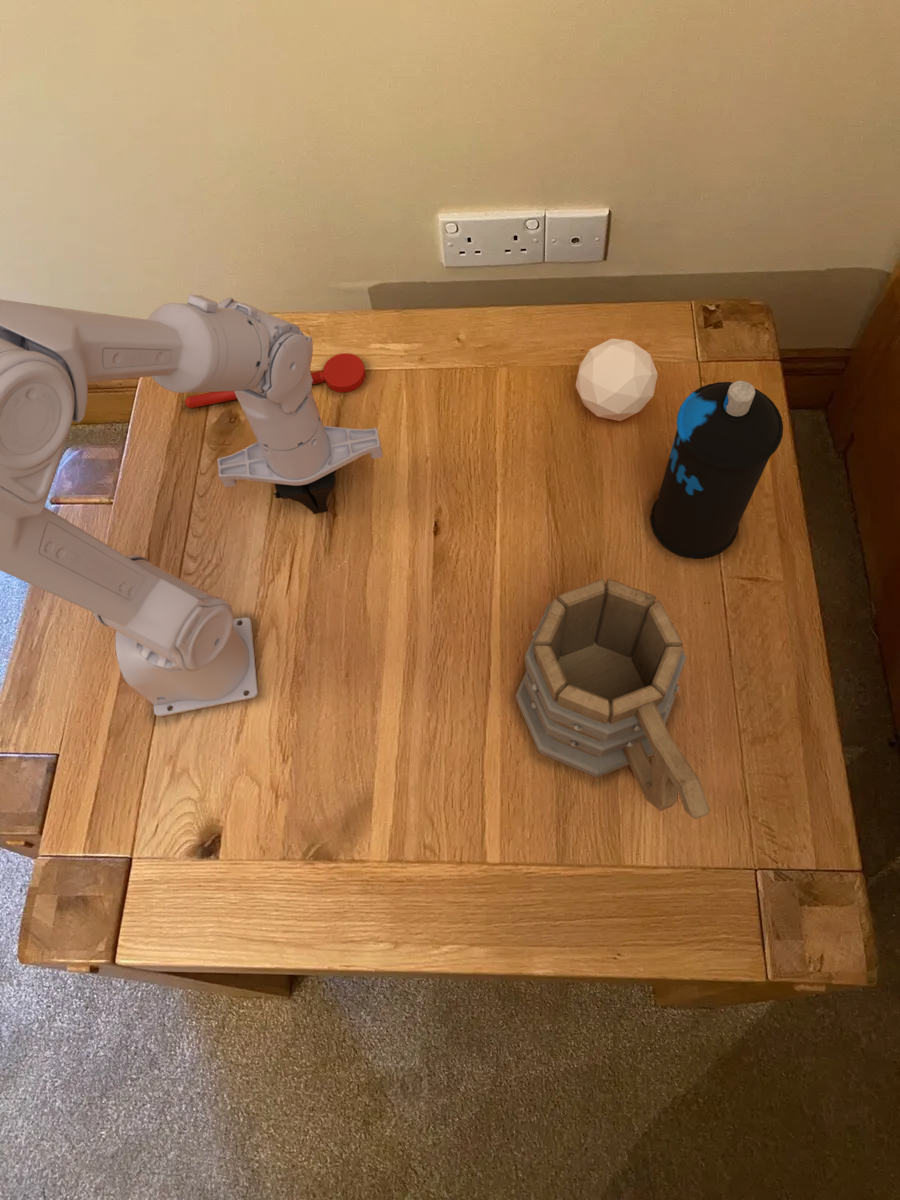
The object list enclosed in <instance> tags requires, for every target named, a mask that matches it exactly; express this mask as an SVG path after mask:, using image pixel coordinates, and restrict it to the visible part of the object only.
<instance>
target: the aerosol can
mask: <svg viewBox="0 0 900 1200" xmlns="http://www.w3.org/2000/svg"><path fill="white" fill-rule="evenodd" d="M676 416H677V417H676V431H675V435H674V439H673V442H672V445H671V449H670V453H669V456H668V460H667V464H666V468H665V470H664V474H663V477H662V482H661V485H660V488H659V492H658V495H657V498H656V499H655V501H654V503H653V504H652V507H651V511H650V525H651V526H650V527H651V529H652V531H653V534H654V536H655V537H656V539H657V541H658V542H659V543H660V544H661V545H662V546H663V547H664V548H665V549H667V550H668V551H670V553H671V552H672V553H674V554H675V555H677V556H679V557H683V558H686V559H693V560H700V559H708V558H712V557H715V556H717V555H719V554H721V553H723V552H724V551H726V550H727V549H729V547H730V546H731V545H732V544H733V543H734V541H735V539H736V537H737V536H738V535H737V534H738V532H739V527H740V526H739V525H740V522H741V520H742V518H743V516H744V514H745V511H746V509H747V507H748V505H749V503H750V501H751V499H752V497H753V495H754V492H755V490H756V488H757V486H758V484H759V482H760V480H761V477H762V475H763V473H764V471H765V468H766V466H767V464H768V462H769V460H770V458H771V456H772V455H774V454H775V452H777V450H778V447H779V446H780V444H781V442H782V439H783V435H784V423H783V417H782V415H781V412H780V410H779V408H778V407H777V406H776V404H775V403H774V401H773V400H772V399H770V398H769V397H768V396H767V395H766V394H765V393H763V392H762V391H760V390H759V389H758V388H755V386H754V385H753V384H751V382H748V381H745V380H736V381H734V382H733V381H717V382H713V383H709V384H706V385H703V386H702V387H699V388H697V389H695V390H694V391H692V392H691V393H690V394H689V395H688V396H686V398H685V399H684V400H683V402H682V404H681V405H680V407H679V410H678V412H677V415H676Z"/></svg>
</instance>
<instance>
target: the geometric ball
mask: <svg viewBox="0 0 900 1200" xmlns="http://www.w3.org/2000/svg"><path fill="white" fill-rule="evenodd" d="M657 381H658V371H657V369H656V366H655V363H654V361H653V359H652V356H651V354H650V352H648V351H646V350H645V349H644V348H642V347H641V346H639V344H636V343H635V342H634V341H632V340H627V339H620V338H610V339H607V340H606V341H604V342H602V343H599V344H597V345H596V346H594V347H592V348H590V349H589V351H588V352H587V353H586V355H585V357H584V358H583V360H582V361H581V362H580V363H579V368H578V373H577V377H576V381H575V388H576V390H577V394H578V395H579V397H580V400H581V402H582V404H583V406H584V407H585V408H587V409H588V410H589V411H590V412H591V413H592V414H594V415H595V416H596V417H597V418H598V417H599V418H602V419H608V420H612V421H617V422H621V421H624V420H625V419H628V418H629V417H632V416H634V415H636V414H638V413H640V412H641V411H642V410H643V409H644V408H645V407H646V405H647V404H648V403H649V402H650V401H651V399H652V398H653V397H654V394H655V390H656V385H657Z"/></svg>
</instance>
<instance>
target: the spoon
mask: <svg viewBox="0 0 900 1200" xmlns="http://www.w3.org/2000/svg"><path fill="white" fill-rule="evenodd" d="M311 376H312V379H313V382H312V385H317V384H322V383H325V384H326V386H327V387H328V388H329V389H330V390H332V391H333V392H337V393H349V392H353V391H355V390H356V389H358V388H360V387H361V386H362V384H363V383H364V382H365V380H366V368H365V364H364V362H363V360H362V359H361V358H360V357H359V356H358V355H355V354H353V353H347V352H346V353H343V352H342V353H338V354H336V355H334V356H332V357H330V358H329V359H328V360H327V361H326V362H325V363H324V366H323V369H322V370H319V371H318V370H317V371H311ZM235 400H238V399H237V397H236V395H235V392H234V391H221V392H204V393H199V394H194V395H189V396H187V397H186V398H185V400H184V403H185V406H186V407H188V408H190V409H194V408H199V407H204V406H210V405H214V404H220V403H225V402H229V401H235Z"/></svg>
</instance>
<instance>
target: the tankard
mask: <svg viewBox="0 0 900 1200" xmlns="http://www.w3.org/2000/svg"><path fill="white" fill-rule="evenodd" d="M656 599H657V595H655V594H652V593H649V592H646V591H643V590H640V589H638V588H635V587H632V586H629V585H627V584H624V583H621V582H619V581H616V580H613V579H610V578H607V579H606V581H605V579H604V578H601V579H599V580H595V581H593V582H590V583H588V584H585V585H582V586H579V587H577V588H574V589H571V590H568V591H566V592H563V593H561V594H559V595H558V594H557V595H556V599H555V598H553V599H552V602H550V603H548V604H547V606H546V607H545V610H544V612H543V614H542V617H541V619H540V621H539V624H538V625H537V628H536V629H534V631H532V633H531V637H532V639H531V642H530V644H529V646H528V648H527V651H526V652H525V655H524V666H525V668H526V670H525V673H524V676H523V678H522V680H521V682H520V684H519V686H518V690H517V691H516V693H515V700H516V703H517V705H518V708H519V710H520V712H521V714H522V716H523V719H524V721H525V723H526V726H527V729H528V731H529V734H530V735H531V738H532V740H533V743H534V746H535V748H536V749H537V752H538V754H539V755H542V756H544V757H547V758H549V759H551V760H554V761H556V762H559V763H561V764H563V765H566V766H568V767H570V768H573V769H575V770H577V771H580V772H582V773H585V774H587V775H590V776H592V777H594V778H599V777H603V776H605V775H606V774H609V773H612V772H615V771H617V770H619V769H622V768H624V767H628V766H629V768H630V769H631V772H632V774H633V776H634V779H635V780H636V782H637V784H638V786H639V788H640V789H641V792H642V793H643V795H644V797H645V800H646V802H648V803H650V804H651V805H652V806H653V807H654V808H655V809H657V810H658V811H660V812H662V811H665V810H666V809H669V808H672V807H673V806H674V805H675V804H676V803H677V802H678V799H680V801H681V804H682V807H683V810H684V812H685V813H686V814H688V815H689V816H690V817H691V818H692V819H695V820H698V819H700V818H703V817H705V816H708V815H709V813H710V811H711V809H710V807H709V804H708V800H707V797H706V794H705V791H704V789H703V785H702V782H701V780H700V777H699V776H698V775H697V773H696V772H695V770H694V769H693V767H692V766H691V765H690V763H689V762H688V760H687V759H686V757H685V756H684V754H683V752H682V751H681V749H680V748H679V746H678V745H677V743H676V741H675V740H674V739H673V737H672V735H671V734H670V731H669V729H668V728H667V725H666V724H667V721H668V718H669V716H670V713H671V710H672V707H673V704H674V703H675V699H676V695H675V694H677V693H678V692H679V691H680V686H679V684H678V682H679V679H680V676H681V674H682V670H683V668H684V666H685V663H686V660H687V655H686V652H685V650H684V647H683V644H684V643H683V640H682V639H681V637H680V634H679V633H678V631H677V629H676V627H675V626H674V623H673V622H672V619H671V618H670V616H669V614H668V612H667V610H666V609H665V606H664V605H663V603H662V600H661V599H660V598H659V599H658V600H656ZM650 757H652V759H651V761H650V759H649V758H650ZM679 797H680V798H679Z"/></svg>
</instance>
